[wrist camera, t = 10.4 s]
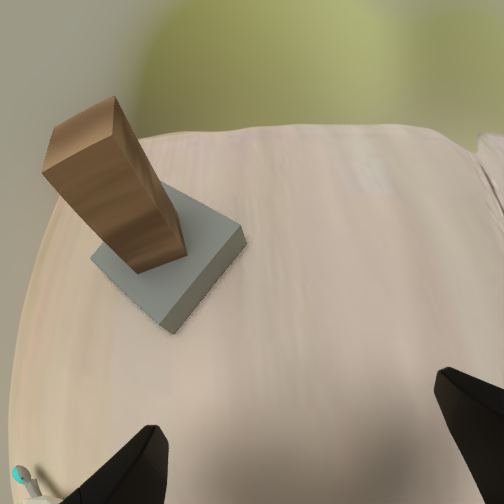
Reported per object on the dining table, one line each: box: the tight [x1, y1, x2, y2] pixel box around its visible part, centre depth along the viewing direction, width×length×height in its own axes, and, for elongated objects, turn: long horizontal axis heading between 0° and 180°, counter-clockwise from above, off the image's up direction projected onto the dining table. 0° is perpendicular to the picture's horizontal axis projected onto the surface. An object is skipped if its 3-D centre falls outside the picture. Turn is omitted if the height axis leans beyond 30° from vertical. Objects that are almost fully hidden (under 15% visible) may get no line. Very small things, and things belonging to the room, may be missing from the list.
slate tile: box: [90, 181, 247, 334], centre depth 26 cm, size 10×10×3 cm
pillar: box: [42, 96, 188, 274], centre depth 19 cm, size 4×4×12 cm
